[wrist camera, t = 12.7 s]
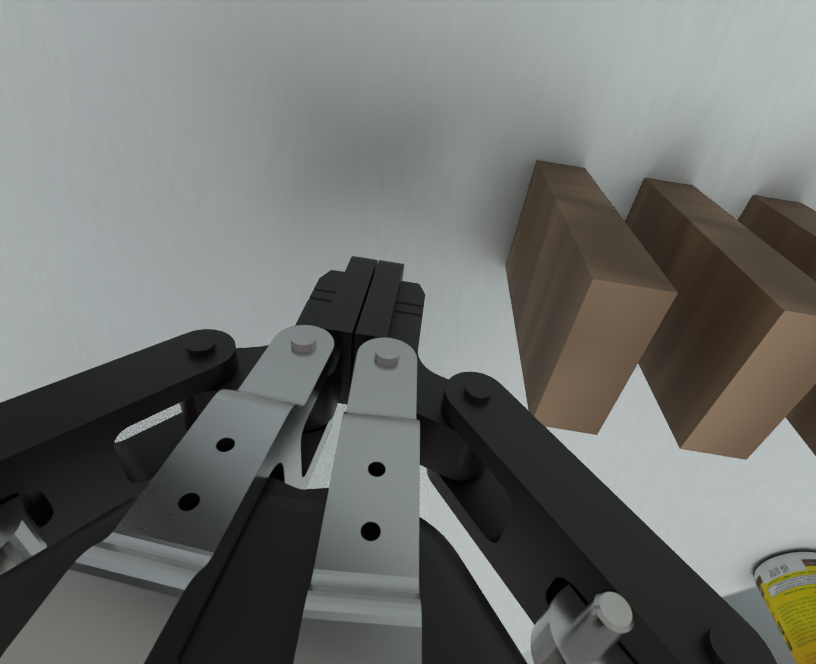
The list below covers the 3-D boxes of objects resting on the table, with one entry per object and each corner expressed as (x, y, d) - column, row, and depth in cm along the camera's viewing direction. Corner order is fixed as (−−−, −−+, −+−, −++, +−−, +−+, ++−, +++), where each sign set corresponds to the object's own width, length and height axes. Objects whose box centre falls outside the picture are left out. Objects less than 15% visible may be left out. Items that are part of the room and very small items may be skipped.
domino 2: (598, 282, 21) (679, 448, 13) (644, 177, 18) (784, 310, 10) (640, 289, 21) (746, 459, 13) (693, 185, 18) (870, 324, 10)
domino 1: (505, 267, 21) (530, 423, 13) (536, 160, 18) (593, 279, 10) (546, 274, 21) (597, 434, 13) (584, 168, 18) (678, 292, 10)
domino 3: (692, 297, 21) (829, 472, 13) (753, 195, 18) (976, 341, 10) (733, 304, 21) (895, 484, 13) (801, 203, 18) (1062, 355, 10)
